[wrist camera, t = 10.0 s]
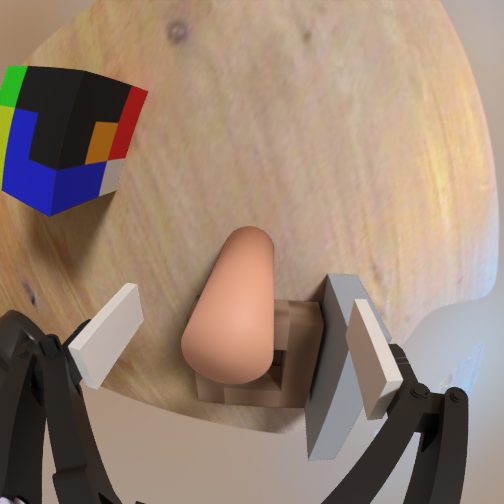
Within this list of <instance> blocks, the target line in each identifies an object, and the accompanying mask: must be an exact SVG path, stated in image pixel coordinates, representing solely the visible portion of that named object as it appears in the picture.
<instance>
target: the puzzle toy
mask: <svg viewBox="0 0 504 504" xmlns="http://www.w3.org/2000/svg"><path fill="white" fill-rule="evenodd" d="M147 94H148V91H146V90H143V89H140V88H138V87H135V86H132V85H129V84H126V83H123V82H120V81H117V80H114V79H111V78H108V77H104V76H101V75H98V74H95V73H91V72H88V71H83V70H75V69H65V68H54V67H38V66H8V68H7V71H6V73H5V77H4V80H3V83H2V86H1V90H0V190H2V191H4V192H6V193H7V194H9V195H11V196H13V197H14V198H16V199H18V200H20V201H22V202H23V203H25V204H27V205H29V206H31V207H33V208H34V209H36V210H38V211H40V212H42V213H44V214H46V215H47V216H49V217H50V216H53V215H55V214H57V213H60V212H62V211H64V210H67V209H69V208H72V207H74V206H77V205H79V204H82V203H84V202H87V201H89V200H92V199H94V198H97V197H100V196H102V195H105V194H108V193H111V192H113V191H116V190H117V187H118V183H119V179H120V176H121V172H122V168H123V165H124V161H125V158H126V154H127V151H128V148H129V145H130V141H131V138H132V135H133V132H134V129H135V126H136V123H137V120H138V118H139V115H140V112H141V109H142V107H143V104H144V101H145V99H146V96H147Z"/></svg>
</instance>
